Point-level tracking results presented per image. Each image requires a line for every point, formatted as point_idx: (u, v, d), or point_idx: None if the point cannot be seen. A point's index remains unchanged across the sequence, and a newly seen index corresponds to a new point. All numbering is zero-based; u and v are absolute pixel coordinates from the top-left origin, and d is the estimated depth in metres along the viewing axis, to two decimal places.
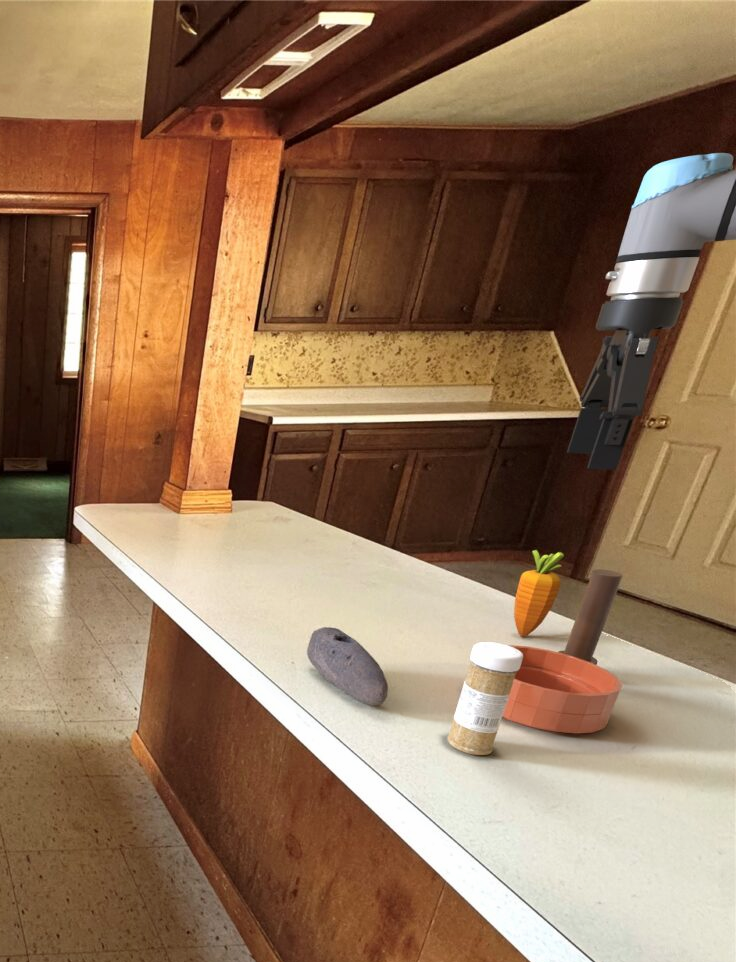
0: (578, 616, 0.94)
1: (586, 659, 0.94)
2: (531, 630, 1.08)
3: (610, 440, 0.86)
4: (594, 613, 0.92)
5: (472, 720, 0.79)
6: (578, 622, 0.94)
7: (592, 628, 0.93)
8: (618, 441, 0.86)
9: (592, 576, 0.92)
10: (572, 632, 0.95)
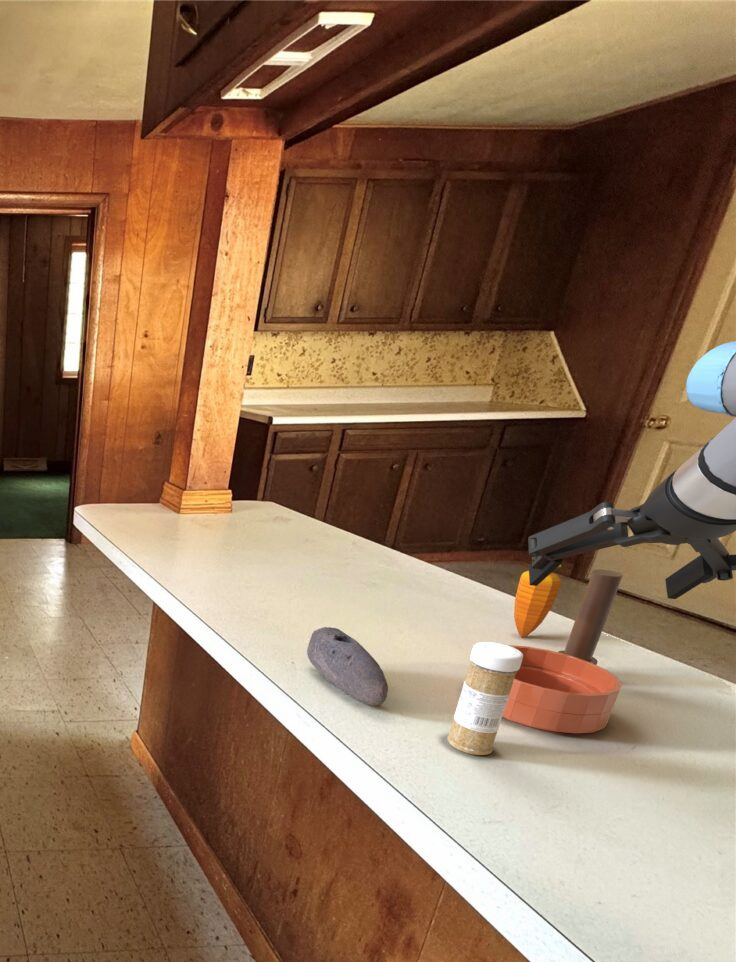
0: (578, 616, 0.94)
1: (586, 659, 0.94)
2: (531, 630, 1.08)
3: (532, 559, 0.84)
4: (594, 613, 0.92)
5: (472, 720, 0.79)
6: (578, 622, 0.94)
7: (592, 628, 0.93)
8: (532, 564, 0.84)
9: (592, 576, 0.92)
10: (572, 632, 0.95)
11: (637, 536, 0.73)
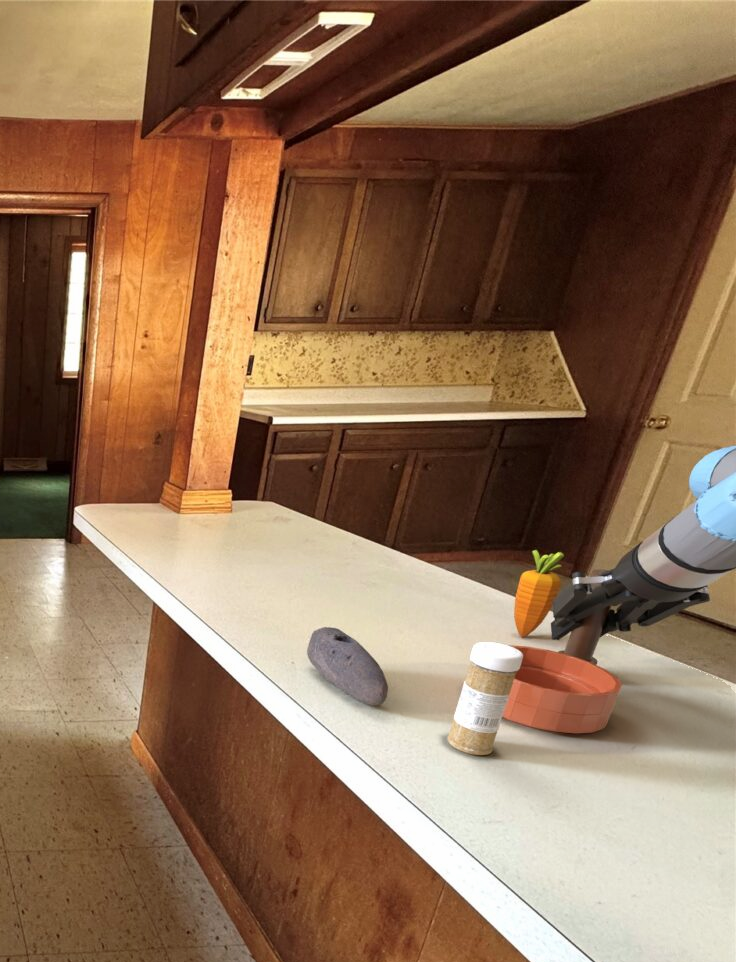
0: None
1: (586, 659, 0.94)
2: (531, 630, 1.08)
3: (555, 618, 0.96)
4: (594, 613, 0.92)
5: (472, 720, 0.79)
6: None
7: (592, 628, 0.93)
8: (555, 623, 0.96)
9: (592, 576, 0.92)
10: (572, 632, 0.95)
11: (613, 598, 0.85)
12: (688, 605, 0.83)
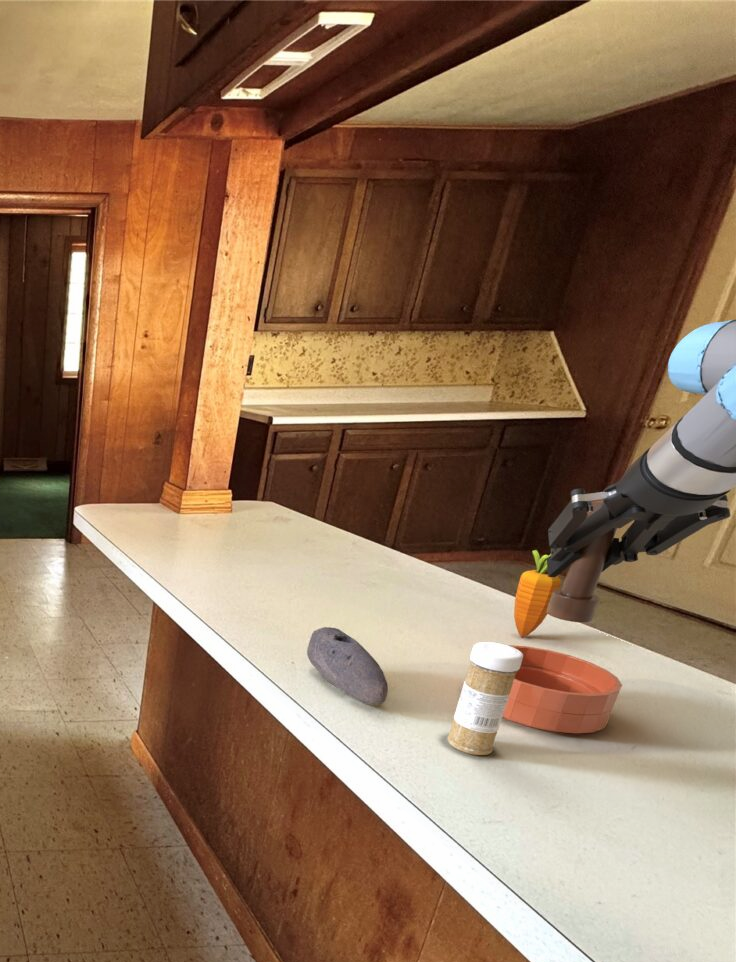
0: None
1: (586, 596, 0.83)
2: (531, 630, 1.08)
3: (551, 550, 0.85)
4: (596, 541, 0.81)
5: (472, 720, 0.79)
6: None
7: (593, 559, 0.81)
8: (551, 556, 0.85)
9: None
10: (571, 566, 0.84)
11: (618, 517, 0.74)
12: (705, 524, 0.72)
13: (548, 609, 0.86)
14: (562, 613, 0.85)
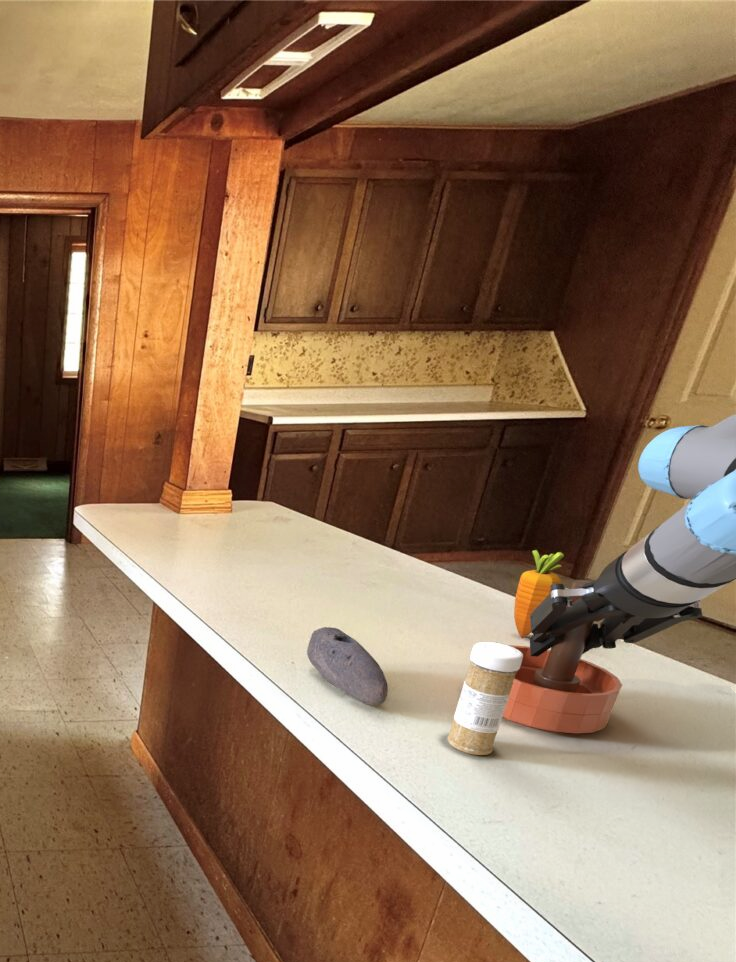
0: None
1: (567, 678, 0.86)
2: None
3: None
4: (576, 628, 0.84)
5: (472, 720, 0.79)
6: None
7: (573, 644, 0.84)
8: (533, 638, 0.88)
9: (573, 587, 0.83)
10: (552, 648, 0.86)
11: (596, 612, 0.77)
12: (678, 621, 0.75)
13: None
14: None
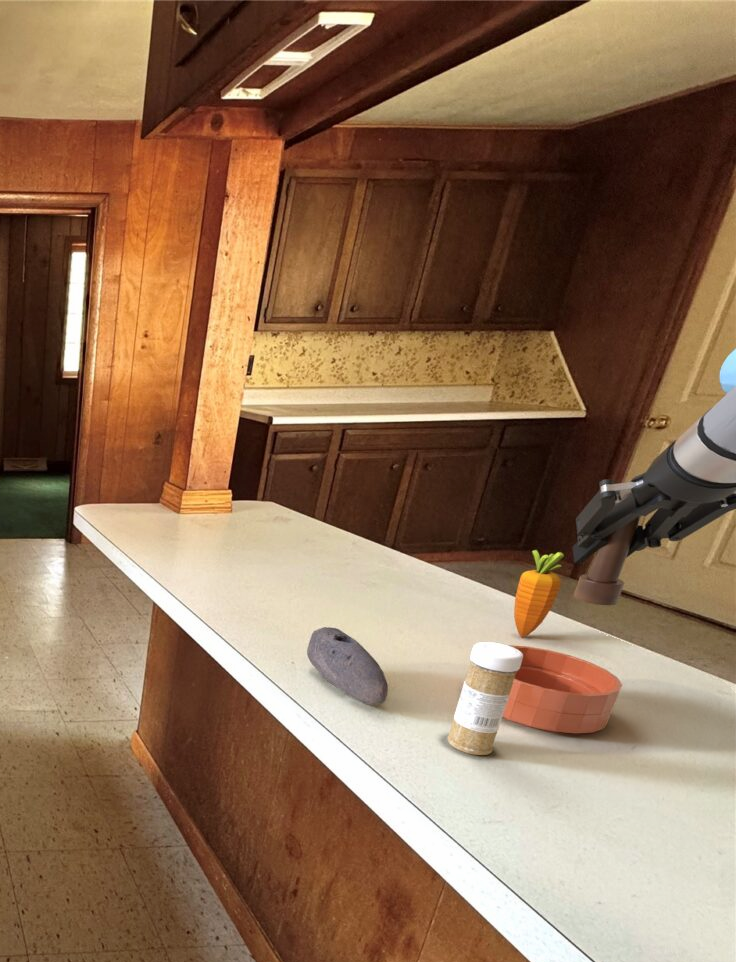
0: None
1: (612, 580, 0.89)
2: (531, 630, 1.08)
3: (578, 538, 0.91)
4: (621, 529, 0.86)
5: (472, 720, 0.79)
6: None
7: (619, 546, 0.87)
8: (578, 543, 0.90)
9: None
10: (597, 552, 0.89)
11: (644, 506, 0.80)
12: (725, 511, 0.78)
13: (575, 593, 0.92)
14: (589, 597, 0.90)
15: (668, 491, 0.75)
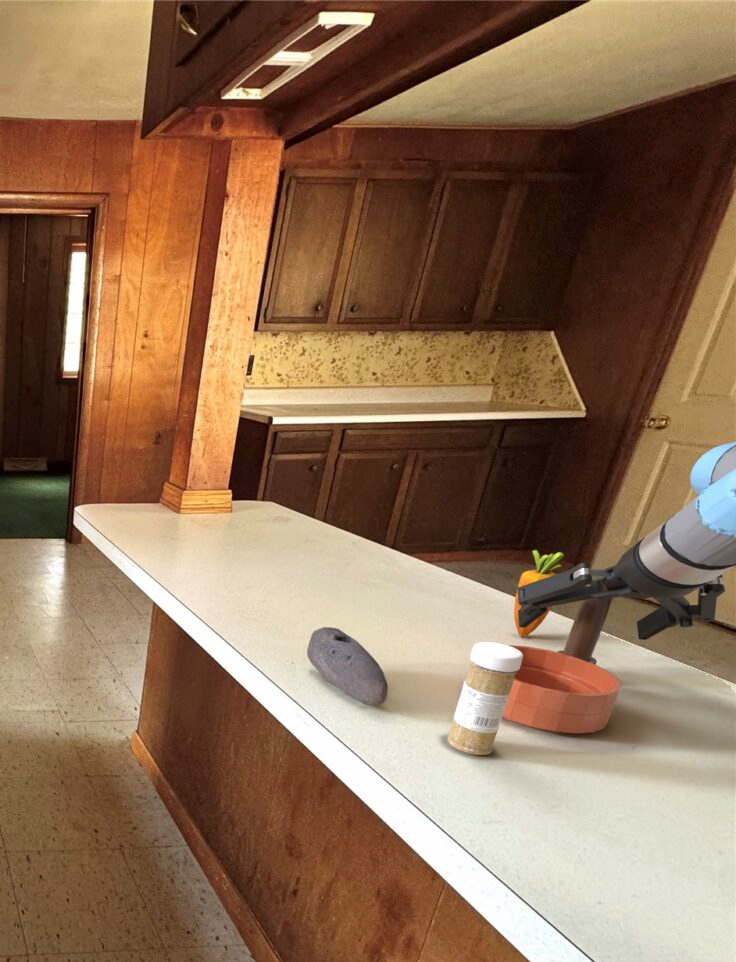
0: (577, 616, 0.94)
1: (585, 659, 0.94)
2: (531, 630, 1.08)
3: (521, 605, 0.96)
4: (593, 613, 0.92)
5: (472, 720, 0.79)
6: (577, 622, 0.94)
7: (591, 628, 0.93)
8: (521, 610, 0.96)
9: None
10: (571, 632, 0.95)
11: (611, 592, 0.85)
12: (713, 597, 0.81)
13: None
14: None
15: (635, 586, 0.81)
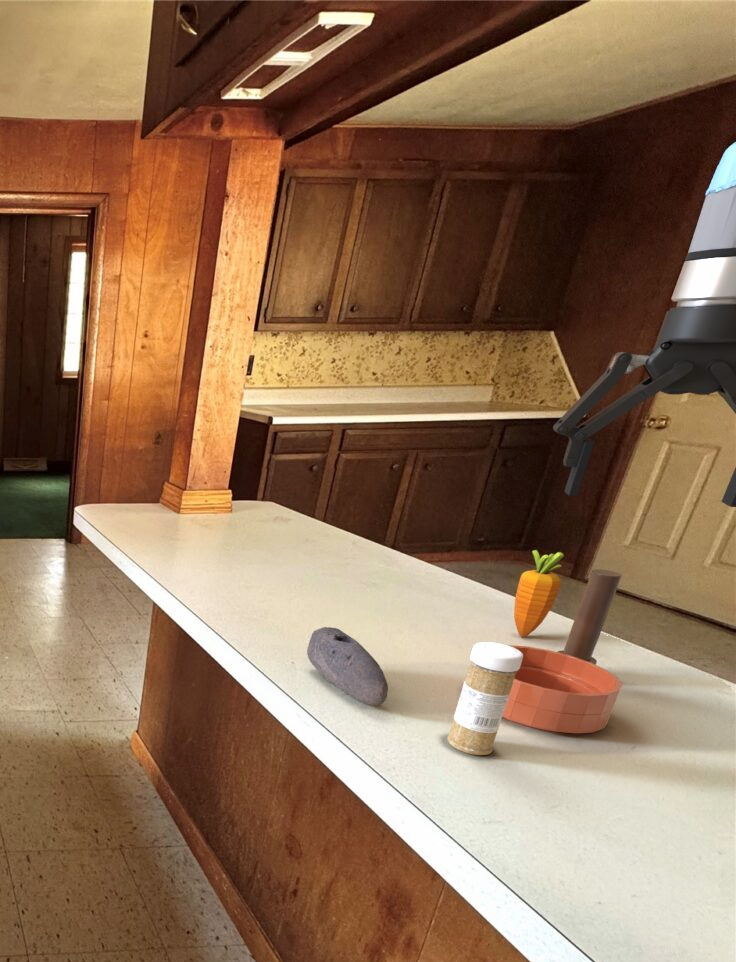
0: (577, 616, 0.94)
1: (585, 659, 0.94)
2: (531, 630, 1.08)
3: (564, 460, 0.81)
4: (593, 613, 0.92)
5: (472, 720, 0.79)
6: (577, 622, 0.94)
7: (591, 628, 0.93)
8: (565, 462, 0.81)
9: (591, 576, 0.92)
10: (571, 632, 0.95)
11: (660, 376, 0.73)
12: None
13: None
14: None
15: (682, 334, 0.71)
